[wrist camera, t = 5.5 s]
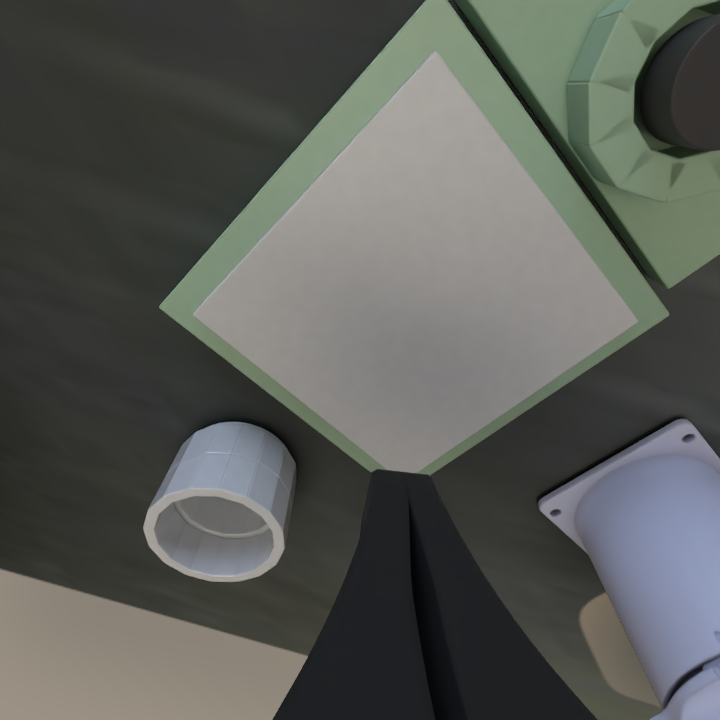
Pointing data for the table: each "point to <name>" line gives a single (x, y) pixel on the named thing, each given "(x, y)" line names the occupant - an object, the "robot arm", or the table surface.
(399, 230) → the scale
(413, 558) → the robot arm
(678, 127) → the button
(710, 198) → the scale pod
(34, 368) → the table surface
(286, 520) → the grey cup
